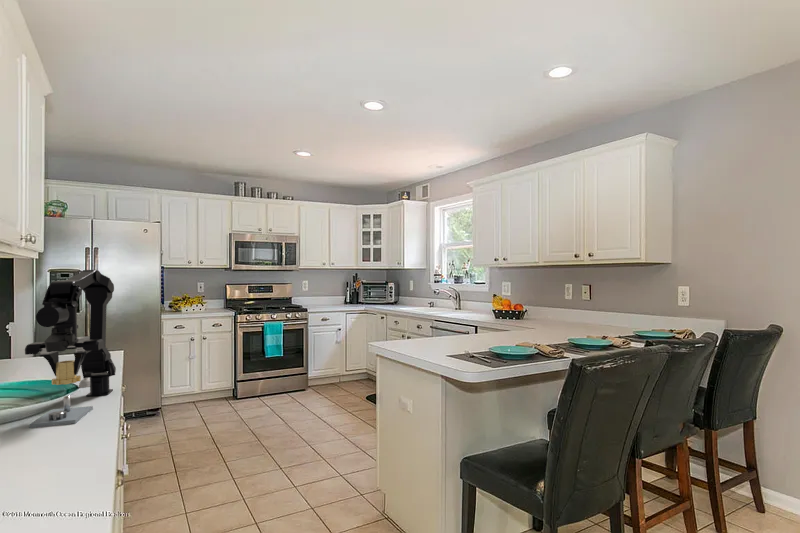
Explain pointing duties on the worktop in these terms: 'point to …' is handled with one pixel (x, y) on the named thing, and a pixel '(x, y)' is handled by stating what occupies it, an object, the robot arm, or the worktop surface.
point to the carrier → (62, 415)
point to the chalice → (85, 381)
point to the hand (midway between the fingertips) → (66, 375)
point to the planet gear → (65, 373)
